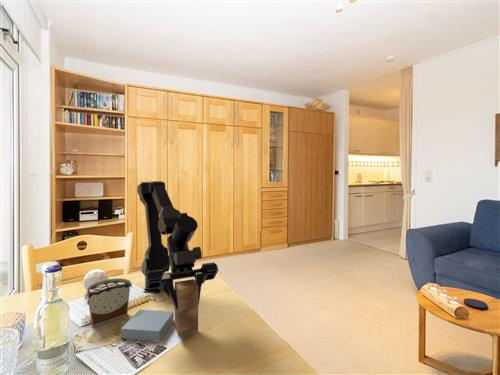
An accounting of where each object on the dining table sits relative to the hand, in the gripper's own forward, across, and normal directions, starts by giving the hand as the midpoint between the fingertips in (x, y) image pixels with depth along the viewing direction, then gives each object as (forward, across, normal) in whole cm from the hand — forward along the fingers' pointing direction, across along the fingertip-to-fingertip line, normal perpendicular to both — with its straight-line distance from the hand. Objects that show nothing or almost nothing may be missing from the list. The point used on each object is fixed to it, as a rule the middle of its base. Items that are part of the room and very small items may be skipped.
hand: (187, 306), depth 71 cm
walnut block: (+4, 0, +6) cm, 7 cm away
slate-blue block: (0, -8, +12) cm, 15 cm away
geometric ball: (-23, -23, +35) cm, 48 cm away
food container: (-8, -19, +21) cm, 29 cm away
